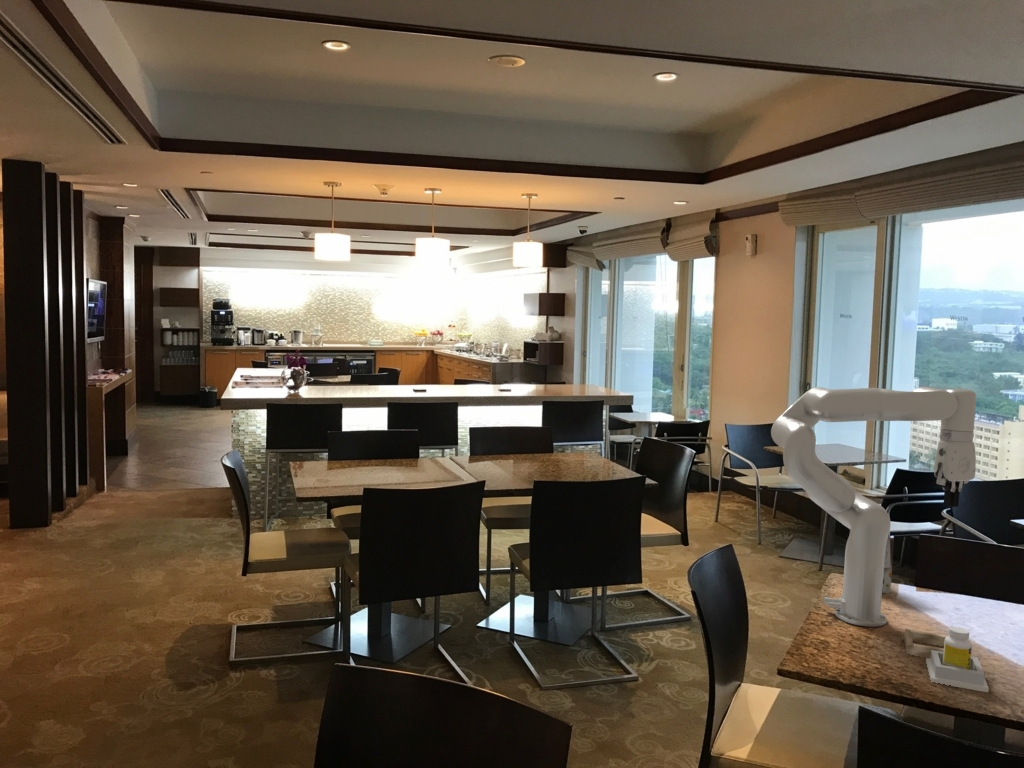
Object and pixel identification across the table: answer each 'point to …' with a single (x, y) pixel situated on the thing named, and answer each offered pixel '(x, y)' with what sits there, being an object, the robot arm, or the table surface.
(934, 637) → the beige square frame
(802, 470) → the robot arm
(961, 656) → the supplement bottle
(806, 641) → the table surface
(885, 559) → the coffee box
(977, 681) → the socket
